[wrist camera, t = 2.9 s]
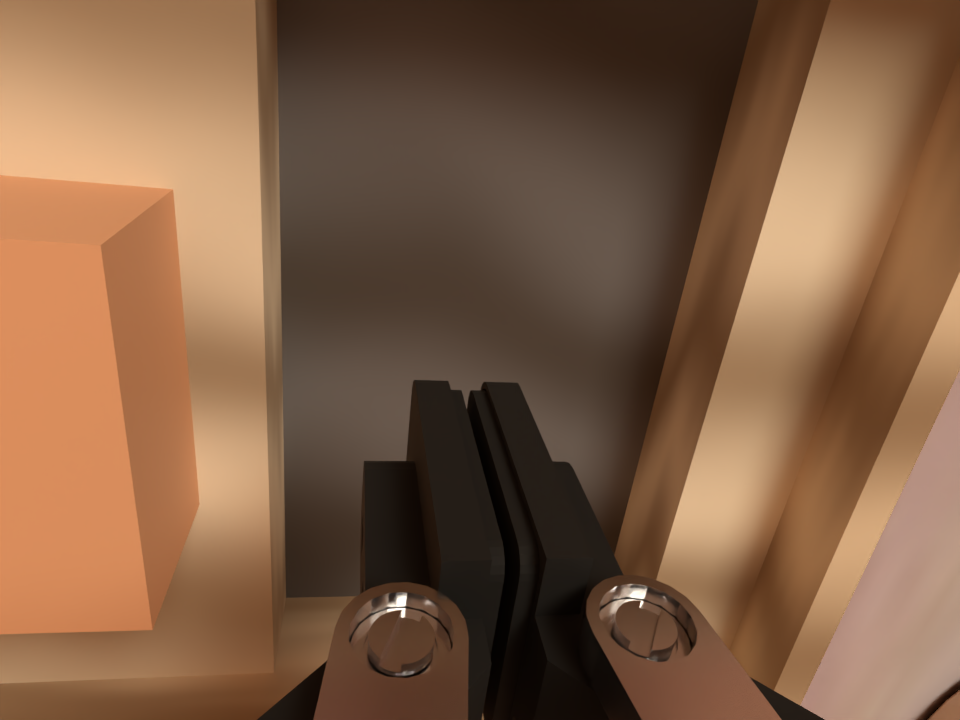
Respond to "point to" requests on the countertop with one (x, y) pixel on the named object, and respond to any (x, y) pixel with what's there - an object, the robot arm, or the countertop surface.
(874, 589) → the countertop surface
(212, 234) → the trap box
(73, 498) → the terracotta block
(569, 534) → the robot arm
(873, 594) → the countertop surface
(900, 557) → the countertop surface
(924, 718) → the countertop surface
